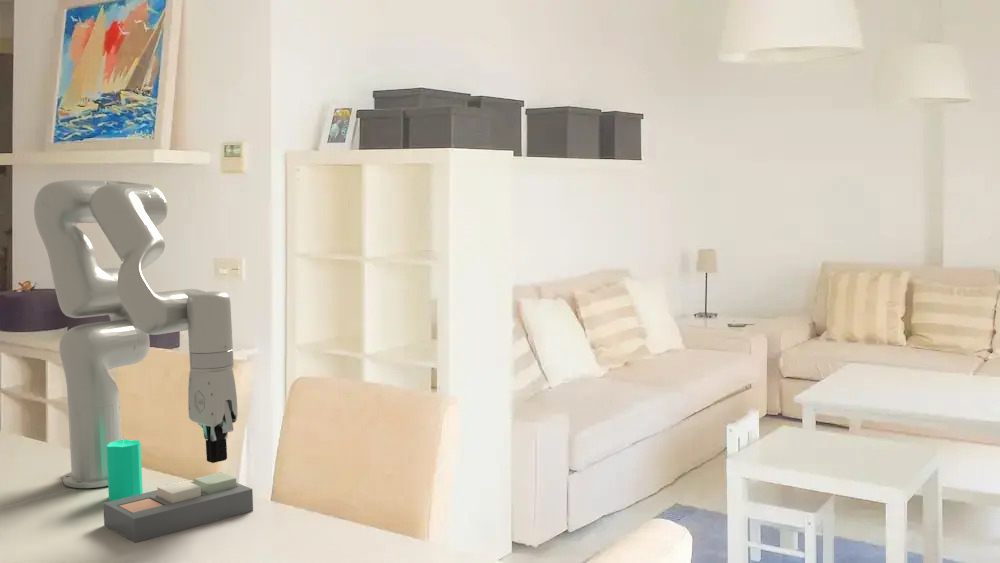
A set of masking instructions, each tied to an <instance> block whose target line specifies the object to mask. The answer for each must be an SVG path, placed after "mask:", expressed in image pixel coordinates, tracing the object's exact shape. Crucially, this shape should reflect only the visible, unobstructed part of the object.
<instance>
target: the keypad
mask: <svg viewBox="0 0 1000 563" xmlns="http://www.w3.org/2000/svg"><path fill="white" fill-rule="evenodd" d="M190 482H191V483H193V484H194V481H190ZM253 495H254V494H253V488H251V487H249V486H245V485H243V484H241V483H238V482H236V488H232V489H228V490H224V491H220V492H216V493H212V494H207V493H205V492H202V491H201V496H200V497H196V498H192V499H188V500H184V501H180V502H175V503H169V502H167V501H165V500H163V499H161V498H159V497H158V489H156V490H152V491H147V492H143V494H139V495H134V496H130V497H126V498H122V499H117V500H113V501H110V500H109V501H105V502H103V503H102V504H103V505H102V506H103V524H104V525H103V526H104V527H107V528H108V529H110V530H112V531H114V532H116V533H118V534H120V535H121V536H123V537H125V538H126V539H129V540H130V541H132V542H133V543H139V542H142V541H147V540H150V539H153V538H158V537H161V536H163V535H168V534H171V533H174V532H175V533H176V532H179V531H182V530H187V529H190V528H194V527H198V526H201V525H205V524H209V523H212V522H216V521H219V520H224V519H227V518H231V517H235V516H237V515H241V514H245V513H249V512H252V511H254V503H253V502H254V500H253V499H254V497H253ZM145 499H151V500H154V501H156V502H158V503H160V504H162V505H163V506H159V507H155V508H151V509H147V510H143V511H139V512H135V513H131V512H129V511H127V510H125V509H123V508H121V507H119V506H120V505H124V504H128V503H132V502H136V501H140V500H145Z"/></svg>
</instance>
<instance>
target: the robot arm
mask: <svg viewBox="0 0 1000 563" xmlns="http://www.w3.org/2000/svg"><path fill="white" fill-rule="evenodd" d="M34 200H35V201H34V205H33V206H34V207H33V214H34V215H33V216H34V220H35V224H36V229H37V231H38V234H39V235H40V238H41V240H42V242H43V244H44V247H45V250H46V253H47V255H48V260H49V266H50V270H51V275H52V281H53V284H54V289H55V293H56V297H57V302H58V305H59V308H60V310H61V312H62V314H64V316H66V317H69V318H73V319H81V318H82V319H83V318H91V317H101V316H109V317H108V318H109V319H110V320H108V321H97V322H90V323H84V324H80V325H77V326H73V327H72V328H70V329H68V330H67V331H66V332H65V333H63V334H62V336H61V338H60V341H59V345H58V346H59V356H60V359H61V363H62V368H63V370H64V371H63V372H64V376H65V377H64V378H65V384H66V394H67V408H68V409H67V410H68V425H69V426H68V427H69V428H68V429H69V449H70V452H69V453H70V469H71V471H70V472H68V473H66V474H65V475H64V476H63V478H62V481H63V485H64V486H66V487H69V488H74V489H97V488H103V487H104V488H105V487H108V469H107V447H106V446H107V445H108V444H109V443H111V442H114V441H118V440H122V428H121V427H122V422H121V404H120V403H121V402H120V391H119V388H118V385H117V383H116V381H115V380H114V379H113V377H112V376H111V375H110V373H109V372H108V371H109V370H111V369H115V368H122V367H126V366H130V365H135V364H138V363H140V362H142V361H144V360H146V357H147V356H148V354H149V351H150V347H151V346H150V344H151V341H150V335H154V336H155V335H163V334H169V333H176V332H185V331H188V350H189V352H188V353H189V354H188V355H189V374H188V375H189V376H188V386H187V387H188V391H187V392H188V394H187V396H188V398H187V399H188V400H187V402H188V403H187V405H188V406H187V407H188V418H189V420H190V421H191V422H193V423H196V424H197V425H198V426H200V427H201V428H202V432H203V437H204V440H205V453H206V461H207V462H208V463H211V464H214V463H218V462H223V461H226V460H227V459H228V450H227V449H228V448H227V447H228V446H227V439H228V436H229V435H228V433H231V432H234V424H235V423H236V422H237V420H238V413H239V412H238V409H239V408H238V407H239V406H238V396H237V386H236V380H235V374H234V370H233V368H234V366H235V364H234V349H233V348H234V345H233V328H232V327H233V326H232V325H233V324H232V310H231V308H232V305H231V298H230V296H229V295H228V294H227V292H224V291H204V290H201V289H196V288H195V289H194V288H188V289H186V288H185V289H179V290H166V291H157V292H153V290H152V289H151V288H150V286H149V284H148V282H147V281H146V280H145V278H144V275H143V273H142V270H144V269H146V268H147V267H149V266H151V265H152V264H153V263H154V262H156V261H157V260H158V259H159V258H160V257H161V256H162V254H163V253H164V250H165V248H166V244H165V242H166V241H165V240H164V238H163V236H162V234H160V232H159V231H158V229H157V228H156V226H159V225H161V224H162V223H163V222H164V221H165V220H166V218H167V214H168V203H167V202H168V201H167V200H166V197H165V196H164V194H163V193H162V191H161V190H160V189H159V188H158V187H156V186H154V185H152V184H150V183H137V182H130V181H129V182H128V181H120V180H89V179H88V180H86V179H83V180H82V179H67V180H58V181H52V182H49V183H47V184H45V185H44V186H43V187H41V188H40V189H39V191H38V192H37V194H36V196H35V199H34ZM95 223H96V224H97V225H98V226H99V227H100V228H101V231H102V232H103V234H104V236H105V237H106V239H107V240H108V242H109V243H110V245H111V246H112V248H113V249H114V252H115V253H116V254H117V256H118V257H119V259H120V261H121V264H120V266H119V267H106V268H101V267H99V265H98V261H97V258H96V250H95V248H94V245H93V244H92V242H91V240H90V239H89V238H88V236H87V235H86V234H85V232H83V231H82V230H81V229H80V228H79V227H78V226H77V224H95Z"/></svg>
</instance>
